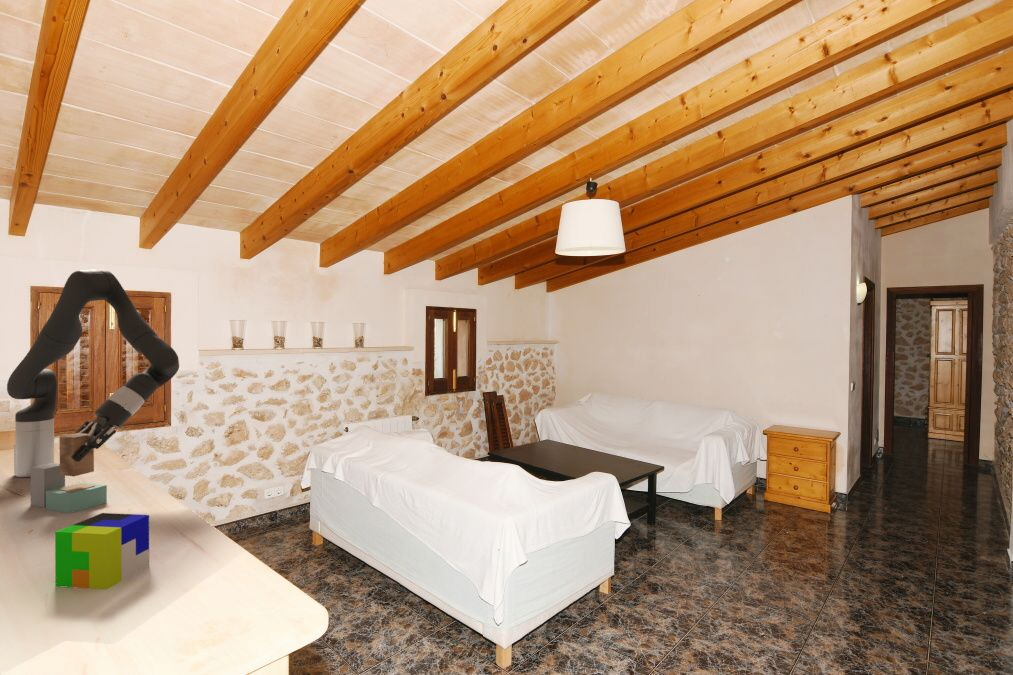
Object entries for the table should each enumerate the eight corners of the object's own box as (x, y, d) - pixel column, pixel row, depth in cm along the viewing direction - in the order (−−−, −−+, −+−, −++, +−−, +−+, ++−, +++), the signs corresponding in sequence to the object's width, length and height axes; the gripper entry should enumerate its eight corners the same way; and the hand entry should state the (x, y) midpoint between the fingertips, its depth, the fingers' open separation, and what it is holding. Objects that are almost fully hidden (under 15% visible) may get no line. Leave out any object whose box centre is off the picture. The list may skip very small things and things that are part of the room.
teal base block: (46, 510, 137) (45, 490, 137) (83, 499, 145) (83, 480, 145) (69, 514, 134) (69, 494, 134) (106, 503, 142) (106, 484, 142)
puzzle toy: (149, 565, 105) (149, 515, 105) (106, 589, 95) (106, 534, 95) (102, 562, 106) (102, 512, 106) (55, 586, 96) (55, 531, 96)
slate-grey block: (30, 505, 140) (30, 467, 139) (51, 499, 144) (51, 462, 144) (44, 507, 138) (44, 469, 138) (65, 501, 143) (65, 464, 143)
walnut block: (59, 474, 138) (59, 436, 138) (80, 469, 143) (79, 432, 142) (73, 476, 136) (73, 437, 136) (93, 471, 141) (93, 433, 141)
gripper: (97, 396, 149) (44, 446, 139) (121, 400, 142) (67, 453, 132) (119, 412, 154) (69, 462, 144) (144, 417, 146) (93, 470, 137)
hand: (69, 458), depth 138 cm, fingers closed on walnut block, 6 cm apart
